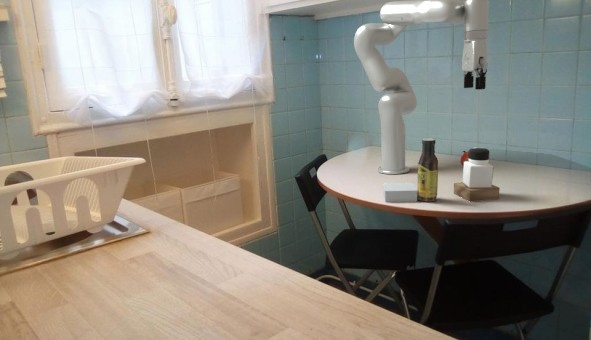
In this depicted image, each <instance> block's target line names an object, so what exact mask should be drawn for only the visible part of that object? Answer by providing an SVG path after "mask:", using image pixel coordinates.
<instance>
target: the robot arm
mask: <svg viewBox="0 0 591 340" xmlns="http://www.w3.org/2000/svg"><path fill="white" fill-rule="evenodd" d="M489 7H490V0H401V1H400V0H396V1H389V2H386V3H385V4H383V5H382V7H381V8H380V12H379V17H380V19H381V21H382V22H383V23H374V22H372V23H371V22H370V23H364V24H362V25H361V26H360V27H358V28H357V30H356V32H355V35H354V38H353V47H354V50H355V53H356V55H357V57H358V58H359V60H360V63H361V65H362V66H363V69H364V71H365V73H366V76H367V78H368V80H369V82H370V85H371V86H372V88H373V90H374V91H375V92H376V93H385V94H384V95H382V96H381V97H380V99H379V101H378V105H377V108H378V114H379V121H380V143H381V144H380V146H381V147H380V148H381V149H380V150H381V156H380V158H381V165H380V166H378V168H377V172H378V173H379V174H385V175H401V174H407V173H409V172H410V167H409V166H406V124H405V121H404V118H403V116H405V115H409V114H412V113H413V112H414V111H415V110H416V108H417V105H418V104H417V103H418V101H417V97H416V94H415V92H414V89H413V87H412V85H411V83H410V82H409V79H408V77H407V75H406V73H405V72H404V71H403V70H402V69H400V68H398V67H389V66H388V65H387V63H386V60H385V58H384V57H383V55H382V53H381V51H379V50H378V49H377V47H376V46H387V45H389V44H391V43H392V42H394V41H395V40H396V39H397V38H398V37H399V35H401V34H402V33H403V32H404V31H405V30H406V29H407V27H408V26H420V25H421V24H462V23H463V48H462V59H461V62H462V63H461V70H462V72H463V88H464V89H473V88H474V89H475V90H477V91H478V90H485V89H486V80H487V79H486V78H487V72H488V65H489V64H488V46H487V41H488V40H489V17H490V16H489V15H490V13H489V11H490V10H489V9H490V8H489ZM474 72H475V75H476V77H474ZM474 78H475V80H474ZM474 81H475V87H474Z"/></svg>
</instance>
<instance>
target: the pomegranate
mask: <svg viewBox="0 0 591 340" xmlns="http://www.w3.org/2000/svg"><path fill="white" fill-rule="evenodd" d="M462 153H463V154H462V155H461V156H460V157H461V158H460V164H461V165H462V166H463V167H464V162H465V161H469V150H468V151H466V150H463V151H462Z"/></svg>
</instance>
